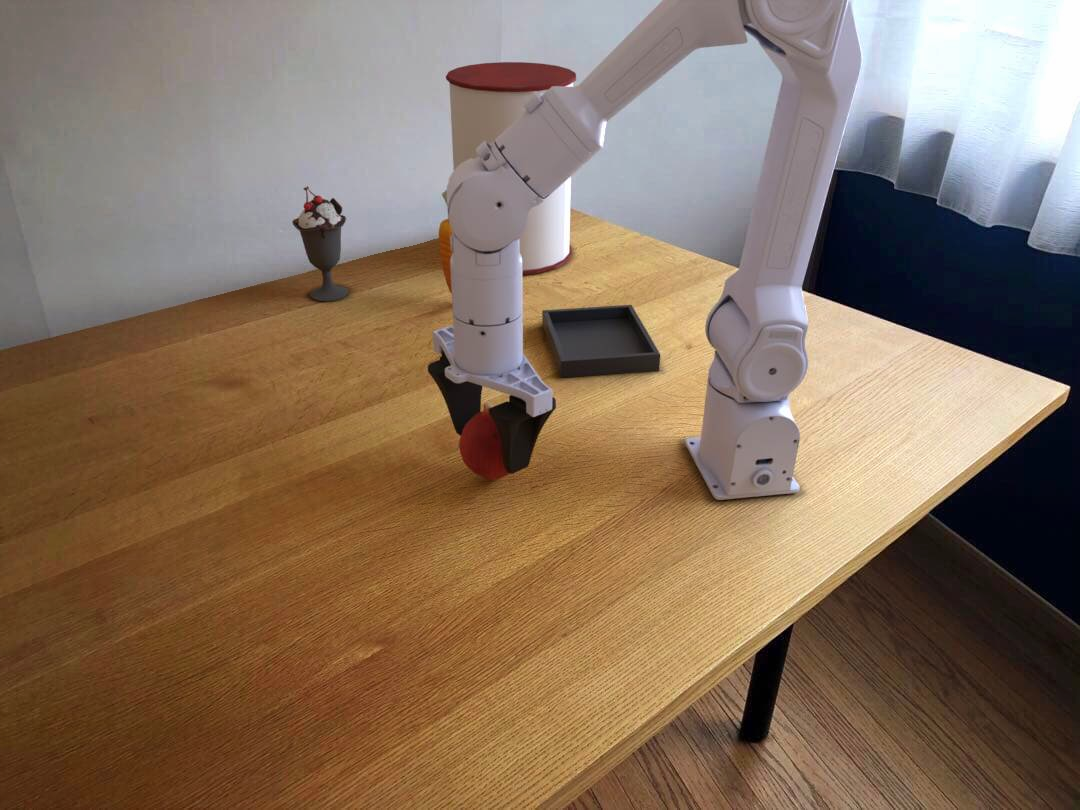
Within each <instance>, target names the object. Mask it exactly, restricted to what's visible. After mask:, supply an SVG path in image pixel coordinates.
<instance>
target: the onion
mask: <svg viewBox="0 0 1080 810" xmlns="http://www.w3.org/2000/svg"><path fill="white" fill-rule="evenodd" d="M482 405H483V409H482V410H481V412H479V413H477V414H476V415H474V416H473V417H472V418H471V419H470V420H469V421H468V422H467V424H466V425H465V426H464V429H463V431H462V434H461V436H459V443H458V448H459V453H460V457H461V459H462V462H463V463H464V464H465V466H466V467H467V468H468V469H469V470H470V471H471V472H472V473H473V474H475V475H478V476H480V477H481V478H483V479H485V480H488V481H495V480H500V479H502V478H505V477H507V476H509V475H511V474H510V473H508V472H507V471H506V469H505V467H504V463H503V456H502V447H501V440H500V436H499V433H498V430H497V427H496V425H495V423H494V421H493V419H492V417H491V416H490V414H489V408H491V407H494V406H493V404H492V403H490V402H484V403H483V404H482Z"/></svg>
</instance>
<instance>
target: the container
mask: <svg viewBox="0 0 1080 810" xmlns="http://www.w3.org/2000/svg"><path fill="white" fill-rule="evenodd" d="M445 80H446V81H447V82H448V83H449V84H448V85H449V103H450V122H451V123H450V124H451V145H452V146H451V147H452V160H453V161H452V165H453V171H454V170H455V169H456V168H457V167H458V166H459V165H460V164H461V163H463V162H464V161H466V160H468V159H471V158H472V159H476V158H477V157H478V155H477V153H476V148H477V147H478V146H480V145H481V144H482V143H483V142H484V141H486V142H487V143H488V144H489V145H490V144H491V143H492V142H493V141H494V140H495V139H496V138H497V137H498V136H499V135H500V134H502V133H503V132H504V131H505V130H506V129H507V128H508V127H509V126H510V125H511V124H512V123H513V122H514V121H515V120H517V119H518V118H519V117H520V116H521V115H522V114H523V113H524V112H525V111H526V109H525V107H524V105H523V101H524V100H525V99H526V98H527V97H528V96H529V95H530V94H531V93H532V92H534V91H536V92H537V93H538V94H539V95H540V96H542V95H543V94H544V93H545V92H546V91H548V90H549V89H550V88H551V87H553V86H563V87H573V86H574V83H575V82H576V81H577V73H576V72H575V71H573V70H572V69H570V68H567V67H563V66H559V65H555V64H548V63H541V62H523V61H520V62H519V61H502V62H499V61H498V62H484V63H476V64H475V63H474V64H469V65H463V66H459V67H456V68H454V69H451V70H449V71H448V72H447V73H446V75H445ZM571 190H572V176H571V177H570V178H569V179H567V180H566V181H565V182H564V183H563V184H562V185H561V186H560V187H558V188H557V189H556V190H555V191H554V192H553V193H552V194H551V195H549V196H548V197H547V198H546V199H545V200H544V201H543V202H542V203H541V204H539V205H537V206H534V207H532V208H531V209H530V211H529V214H528V222H527V226H526V228H525V231H524V233H523V234H522V236H521V237H520V238H519V243H520V255H521V257H522V276H529V275H539V274H542V273H546V272H551V271H555V270H556V269H558V268H560V267H562V266H564V265H565V264H567V263H568V261H570V259H571V258H572V256H573V248H572V246H571V245H570V239H571V238H570V237H571V235H570V234H571V233H570V232H571V195H572V192H571Z"/></svg>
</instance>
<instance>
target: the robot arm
mask: <svg viewBox="0 0 1080 810" xmlns="http://www.w3.org/2000/svg"><path fill="white" fill-rule="evenodd" d="M746 33H748V34H749V35H750V36H751V37H753V38H754V39H755V40H756V41H757V42H758V44H759V46H760V47H761V48H762V50H763V51H764V52H765V54H766V55H767V57H768V58H769V59H770V61H771V62H772V64H774V66H775V68H776V69H777V70H778V71H779V72H780V74H781V83H780V87H779V92H778V96H777V100H776V105H775V108H774V114H773V118H772V122H771V127H770V130H769V136H768V140H767V144H766V149H765V153H764V157H763V162H762V165H761V169H760V175H759V179H758V182H757V188H756V192H755V197H754V200H753V206H752V209H751V214H750V219H749V222H748V226H747V227H748V228H747V232H746V235H745V241H744V244H743V249H742V254H741V257H740V263H739V267H738V269H737V270H736V271H735V272H734V273H733V274H731V275H730V276H728V277H727V278H726V279H725V280H724V285H723V289H722V293H721V295H720V298H719V299H718V300H717V302H716V303H715V304H714V305H713V306H712V308H711V309H710V311H709V313H708V314H707V318H706V319H705V329H704V330H705V336H706V339H707V341H708V343H709V345H710V346H711V347H712V348H713V350H714V356H713V360H712V362H711V364H710V366H709V369H708V372H707V373H708V375H707V382H706V391H705V399H704V406H703V407H704V408H703V416H702V424H701V432H700V436H696V437H695V436H694V437H687V438H685V439H684V445H685V447H686V448H687V451H688V452H689V454H690V456H691V458H692V460H693V462H694V464H695V465H696V467H697V469H698V471H699V473H700V475H701V476H702V479H703V480H704V482H705V485H706V486H707V488H708V490H709V492H710V493H711V495H712V497H713V499H715V500H717V501H723V500H735V499H747V498H755V497H766V496H778V495H785V494H797V493H799V492H800V489H801V487H800V485H799V483H798V482H797V480H796V479H795V478H794V471H795V466H796V461H797V456H798V452H799V451H798V450H799V446H800V440H801V433H800V432H801V431H800V428H799V427H798V424H797V422H796V420H795V419H794V417H793V413H792V410H791V407H790V395H791V393H792V392H794V391H795V390H796V389H797V388H798V387H799V386H800V385H801V383H802V382H803V380H804V379H805V377H806V375H807V371H808V367H809V356H808V353H807V348H806V338H807V334H808V329H809V319H808V313H807V309H806V303H805V299H804V294H803V284H804V280H805V276H806V273H807V269H808V266H809V262H810V258H811V255H812V251H813V247H814V244H815V240H816V237H817V233H818V229H819V225H820V223H821V218H822V214H823V210H824V207H825V203H826V199H827V196H828V192H829V188H830V184H831V181H832V177H833V173H834V170H835V166H836V162H837V160H838V159H837V158H838V156H839V152H840V148H841V145H842V141H843V136H844V133H845V129H846V125H847V123H848V119H849V115H850V112H851V108H852V104H853V100H854V96H855V93H856V89H857V87H858V86H857V85H858V82H859V78H860V74H861V70H862V66H863V51H862V47H861V46H862V45H861V43H860V39H859V33H858V29H857V24H856V19H855V15H854V10H853V7H852V2H851V0H661V1H660V2H659V4H657V5H656V6H655V7H654V8H653V9H652V10H651V11H650V12H649V13H648V14H647V15H646V16H645V17H644V18H643V19H642V20H641V22H639V23H638V25H636V26H635V28H634V29H633V30H631V32H630V33H628V34H627V35H626V37H625V38H624V39H623V40H621V42H620V43H618V45H616V47H615V48H614V49H613V50H612V51H611V52H609V54H608V55H606V57H605V58H604V59H603V60H602V61H601V62H600V63H599V64H598V65H597V66H596V67H595V68H594V69H593V70H592V71H591V72H590V73H589V74H588V75H587V76H586V77H585V78H584V79H583V80H582V81H581V82H580V83H579V84H578V85H573V87H563V86H553V87H551V88H550V89H549V90H548V91H546V92H545V93H544V94H543V95H542V96H540V95H539V94H538V93H537V92H536V91H534V92H532V93H531V94H530V95H529V96H528V97H527V98H526V99H525V100H524V101H523V105H524V107H525V109H526V111H525V112H524V113H523V114H522V115H521V116H520V117H519V118H518V119H517V120H515V121H514V122H513V123H512V124H511V125H510V126H509V127H508V128H507V129H506V130H505V131H504V132H503V133H502V134H500V135H499V136H498V137H497V138H496V139H495V140H494V141H493V142H492V143H491V144H490V145H489V144H488V143H487V142H486V141H484V142H483V143H482V144H481V145H480V146H478V147H477V148H476V153H477V155H478V157H477V158H476V159H472V158H471V159H468V160H466V161H464V162H463V163H461V164H460V165H459V166H458V167H457V168H456V169H455V170H454V169H453V171H452V173H450V176H449V178H448V183H447V185H446V189H445V190H444V192H445V199H446V202H445V204H446V203H447V204H446V207H447V208H446V209H447V219H449V223H450V225H451V228H452V233H453V234H451V238H450V244H451V250H452V252H453V254H452V256H451V259H450V270H451V290H452V294H451V307H452V308H451V309H452V324H453V325H449V326H446V327H442V328H440V329H436V330H434V331H432V342H433V343H432V344H433V345H432V346H433V351H434V352H436V353H437V354H439V355H441V356H439V359H438V360H435V361H432V362H430V363H429V364H428V365H427V372H428V374H429V375H430V376H431V378H432V379H433V381H434V382H435V384H436V386H437V387H438V389H439V391H440V393H441V395H442V397H443V399H444V402H445V405H446V408H447V410H448V413H449V416H450V419H451V422H452V425H453V428H454V431H455V432H456V434H457V435H459V437H461V434H462V431H463V429H464V426H465V425H466V424H467V422H468V421H469V420H470V419H471V418H472V417H473V416H474V415H476V414H477V413H479V412H481V411H482V410H481V409H482V392H483V387H485V388H488V389H491V390H494V391H496V392H500V393H503V394H506V395H509V396H508V397H509V398H508V401H507V400H506V401H504V402H501V403H499V404H496V405H494V406H493V407H491V408H489V414H490V416H491V417H492V419H493V421H494V423H495V425H496V427H497V430H498V433H499V436H500V440H501V447H502V456H503V463H504V467H505V469H506V471H507V472H508V473H510V474H509V475H514V474H515V473H517V472H520V471H522V470H524V469H527V468H528V467H529V465H530V463H531V459H532V455H533V452H534V449H535V446H536V442H537V440H538V437H539V436H540V433H541V431H542V429H543V427H544V426H545V424H546V423H547V421H548V419H549V418H550V416H551V415H552V414H553V412H554V411H555V410H556V408H557V399H556V398H555V397H554V396H553V388H551V387H549V386H548V385H547V384H546V383H545V382H543V380H542V378H541V377H540V375H538V373H537V371H536V369H534V367H533V365H532V364H531V363H530V361H529V360H528V358H527V356H525V354H524V334H523V333H524V325H523V324H524V310H523V309H524V308H523V307H524V306H523V304H524V302H523V300H524V299H523V297H524V295H523V294H524V293H523V290H524V289H523V288H524V287H523V284H524V283H523V282H524V281H523V275H522V257H521V255H520V243H519V238H520V237H521V236H522V234H523V233H524V231H525V228H526V226H527V222H528V214H529V211H530V209H531V208H532V207H534V206H537V205H539V204H541V203H542V202H543V201H544V200H545V199H546V198H547V197H548V196H549V195H551V194H552V193H553V192H554V191H555V190H556V189H557V188H558V187H560V186H561V185H562V184H563V183H564V182H565V181H566V180H567V179H569V178H570V177H571V178H572V176H573V175H574V174H575V173H576V172H577V171H579V170H580V169H581V168H583V166H585V164H587V163H588V162H590V160H591V159H592V158H594V157H595V156H596V154H598V153H599V152H600V151H601V150H603V148H604V142H605V132H606V127H607V124H608V122H609V121H610V120H611V119H613V118H614V117H615V116H616V115H618V114H619V113H620V112H621V111H622V110H623V109H625V108H626V107H627V106H628V105H630V104H631V103H632V102H633V101H635V100H636V99H637V98H638V97H639V96H640V95H641V94H643V93H644V92H645V91H646V90H648V89H649V88H650V87H652V86H653V85H654V84H655V83H656V82H658V81H659V80H660V79H661V78H662V77H663V76H665V75H666V74H668V72H670V71H671V70H672V69H674V67H676V66H677V65H678V64H680V63H681V62H682V61H683V60H684V59H686V58H687V57H688V56H690V55H691V54H692V53H693V52H694V51H696V50H698V49H703V48H705V49H706V48H714V47H726V46H737V45H744V44H747V43H748V36H747V34H746Z"/></svg>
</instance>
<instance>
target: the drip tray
mask: <svg viewBox="0 0 1080 810" xmlns="http://www.w3.org/2000/svg"><path fill="white" fill-rule="evenodd" d="M541 312H542V313H541V315H542V317H541V319H542V320H541V322H542V323H541V326H542V328H543V331H544V334H545V337H546V340H547V343H548V346H549V348H550V351H551V354H552V357H553V359H554V363H555V365H556V368H557V371H558V374H559V376H560V378H561V379H565V378H566V379H567V378H577V377H578V378H579V377H591V376H604V375H605V376H606V375H619V374H631V373H646V372H657V371H658V372H659V371H660V367H661V366H660V365H661V353H660V350H659V349H658V348H657V345H656V344H655V343H654V341H653V339H652V338H651V335H650V334H649V332H648V330H647V329H646V327H645V325H644V323H643V322H642V320H641V318H640V317H639V314H638V313H637V311H636V310H635V308H634V306H633V305H632V304H623V305H622V304H621V305H605V306H589V307H575V308H572V307H571V308H557V309H544V310H543V309H542V311H541Z"/></svg>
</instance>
